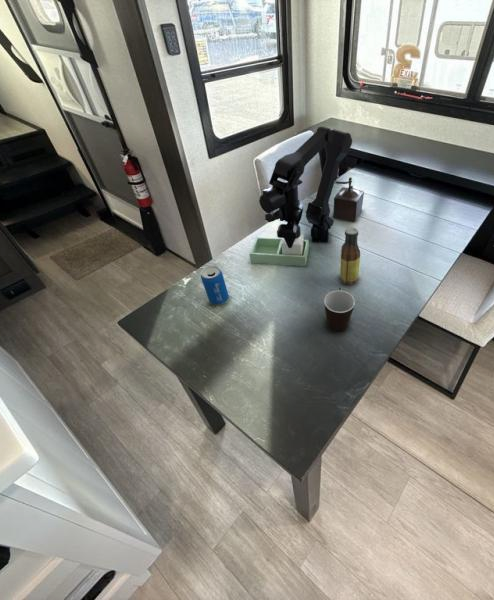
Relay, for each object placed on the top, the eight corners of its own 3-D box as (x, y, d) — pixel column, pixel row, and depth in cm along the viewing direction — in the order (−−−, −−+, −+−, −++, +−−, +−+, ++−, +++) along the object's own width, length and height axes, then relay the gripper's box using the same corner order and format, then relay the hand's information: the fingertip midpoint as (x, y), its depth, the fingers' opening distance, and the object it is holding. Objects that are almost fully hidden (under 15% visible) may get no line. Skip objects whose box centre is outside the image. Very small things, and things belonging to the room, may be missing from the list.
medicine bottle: (303, 248, 120) (302, 221, 111) (301, 260, 115) (300, 232, 106) (285, 248, 120) (283, 220, 112) (282, 259, 116) (280, 232, 107)
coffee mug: (343, 339, 90) (346, 317, 83) (318, 327, 94) (318, 305, 87) (360, 313, 97) (364, 290, 90) (336, 303, 100) (337, 280, 93)
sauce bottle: (360, 276, 109) (366, 227, 95) (354, 287, 105) (360, 238, 91) (342, 271, 111) (346, 223, 97) (336, 282, 107) (339, 233, 93)
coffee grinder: (363, 209, 140) (367, 169, 127) (355, 222, 133) (359, 181, 120) (330, 203, 145) (332, 164, 132) (321, 215, 138) (322, 175, 125)
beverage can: (212, 309, 100) (202, 281, 92) (207, 296, 104) (197, 269, 96) (231, 302, 102) (224, 274, 94) (225, 290, 106) (217, 262, 98)
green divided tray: (257, 245, 123) (256, 236, 120) (308, 248, 121) (308, 239, 118) (251, 262, 116) (249, 253, 113) (305, 266, 114) (305, 257, 111)
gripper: (271, 186, 109) (275, 224, 120) (258, 214, 96) (264, 254, 107) (302, 187, 108) (303, 226, 119) (294, 215, 95) (296, 256, 106)
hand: (292, 240), depth 113 cm, fingers open, 9 cm apart
